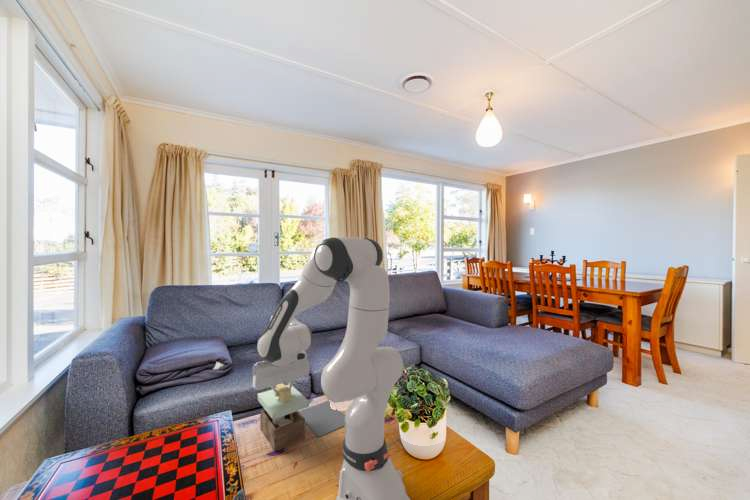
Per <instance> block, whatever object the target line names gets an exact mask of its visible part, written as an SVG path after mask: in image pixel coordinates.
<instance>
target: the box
mask: <svg viewBox="0 0 750 500" xmlns="http://www.w3.org/2000/svg"><path fill="white" fill-rule="evenodd" d="M259 422H260V431H261V433H262V434H263V436H264V437H265V439H266V441H267V442H268V444H269V445H270V447H271V448H272V450H273V451H274V452H276V451H279V450H281V449H283V448H286V447H288V446H291V445H293V444H295V443H298V442H300V441H302V440H305V439H306V423H305V418H304V417H303V416H302V415H301V414H300V413H299V412H298V411H296V412H293V413H290V414H288V415H285V416H282V417H279V418H276V419H274V420H273V419H272V418H271V417H270V415H269V414H268V413H267V411H266V410H265V409H263V410H260V421H259Z"/></svg>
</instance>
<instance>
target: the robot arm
mask: <svg viewBox="0 0 750 500" xmlns="http://www.w3.org/2000/svg"><path fill="white" fill-rule="evenodd" d="M382 249H383V248H382V247H381V245H380V244H379V243H378V242H377V241H376V240H373V239H371V238H368V237H362V238H361V237H353V236H342V237H341V236H339V237H328V238H326V239H323V240H321V241H319V242H318V243H317V245H316V246H314V248H313V250H311V253H310V254H309V257H308V258H307V260H306V262H305V264H304V267H303V269H302V272H301V274H300V276H299V278H298V279H297V281H296V282H295V284H294V285H293V286H292V287H291V288H290V289H289V290H288V291H287V292H286V293H285V294H284V296H283V297H282V298H281V299H280V302H279V304H278V306H277V307H276V310H275V311H274V312H273V314H272V315H271V316H270V319H269V322H268V324H267V326H266V328H265V329H264V330H263V331H262V333H261V334H260V335H259V337H258V340H257V342H256V350H257V354H258V356H259V357H260V358H261V359H262V361H257V362H256V363H255V364H253V366H252V371H251V372H252V375H253V376H252V387H253V388H254V390H256V391H260V390H263V389H268V388H271V390H272V389H273V391H274V396H275V397H277V396H279V395H280V394H279V393H280V391H278V390H276V389H275V388H276V385H278V384H281V383H283V384H284V383H287V382H288V384H287V385H288V386H287V388H288V389H289V390H290V391H291V387H292V386H293V385H294V383H295V382H294V381H295V380H299V379H301V378H305V377H308V376H309V374H310V361H309V359H308V353H307V352H306V351H307V350H309V349H310V347H311V346H312V343H313V332H312V329H311V328H310V327H309V325H307V324H305V323H302V322H300V320H299V321H298V319H297V318H296V317H297V316H298V315H299V314H300V313H302V312H304V311H306V310H308V309H310V308H312V307H314V306H317V305H320V304H321V303H323V302H325V301H326V300H327V299H328V298H329V297H330V296H331V294H332V293H333V291H334V289H335V286H336V284H337V282H338V283H342V282H345V281H346V282H347V284H348V285H349V301H348V314H347V325H346V331H345V334H344V337H343V339H342V341H341V345H340V346H339V348H338V350H337V351H336V354H334V356H333V358H332V359H331V360H330V361H329V362H328V363H327V364H326V365H325V366H324V368H323V369H322V372H321V376H320V385H321V389H322V392H323V394H324V395H325V397H326V398H327V399H328V401H329V402H331V403H337V404H338V403H344V402H351V403H350V404H349V405H348V407H347V409H346V411H345V413H344V414H345V426H344V438H343V442H342V457H343V462H342V464H341V468H340V472H339V479H338V480H339V481H338V491H337V497H336V498H335V500H411V498H410V497H409V496H408V494H407V491H406V487H405V484H404V482H403V473H402V471H401V470H400V469H397V470H396V468H395V465H394V464H393V461H392V459H391V458H390V456H391V451H388V445H387V442H386V439H385V421H386V420H385V419H386V418H385V417H386V416H385V415H386V410H387V406H388V402H389V399H390V397H391V393H392V391H393V389H394V388H395V385H396V383H397V382H398V380H399V379H400V378H401V376H402V375H403V371H404V362H403V361H404V360H403V358H402V355H401V354H400V352H399V351H398V350H397V349H396V348H394V347H392V346H379V345H380V344H381V342H383V341H384V340H385V338H386V336H387V334H388V328H389V326H388V325H389V315H390V298H391V297H390V296H391V295H390V293H391V292H390V289H391V288H390V280H389V273H388V272H387V270H386V269H385V268H384V267H382V266H381V264H382V263H383V257H384V256H383V254H384V253H383V250H382Z"/></svg>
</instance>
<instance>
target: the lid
mask: <svg viewBox="0 0 750 500" xmlns="http://www.w3.org/2000/svg"><path fill="white" fill-rule="evenodd" d="M287 386H288V384H286V385H285V384H284V383H281V384H278V385H276V388H275V389H276V390H278V391H280V393H279V394H280V395H279V396H277V397H275V396H274V391H273V389H272V388H271V389H269V390H265V391H262V392H258V393H257V394H256V395H257V401H258V402H259V403H260V405H261V406H262V408H263V410H266V411H267V413H268V414H269V415H270V417H271V418H272V419H273V420H274V419H276V418H279V417H282V416H285V415H288V414H290V413H293V412H296V411H301V410H303V409H306V408H309V407H310V405H309V404H310V401H309V400H308V398H306V396H305V395H304V394H302V393H301V392H300V391H299V390H298V389H296V388H295V387H294V386H293V385H292V387H291V391H290V390H289V389H288V388H287Z"/></svg>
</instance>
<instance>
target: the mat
mask: <svg viewBox="0 0 750 500" xmlns="http://www.w3.org/2000/svg"><path fill="white" fill-rule="evenodd" d="M330 403H331V401H330V400H325V401H323V402H320V403H318V404H314V405H312V406H309V407H307V408H304V409H301V410H299V411H298V412H299V413H300V414H301V415H302V416H303V417H304V418H305V425H306V426H307V427H308V428H309V429H310V430H311V431H312V432H313V434H315V435H316V437H317V438H320V437H323V436H325V435H327V434H330V433H332V432H334V430H335V431H337V430H339V429H341V428H343V427H344V428H345V414H346V413H344V412H343V411H341V410H340V411H338V410H337V409H336V410H333V409H331V407H330Z"/></svg>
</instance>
